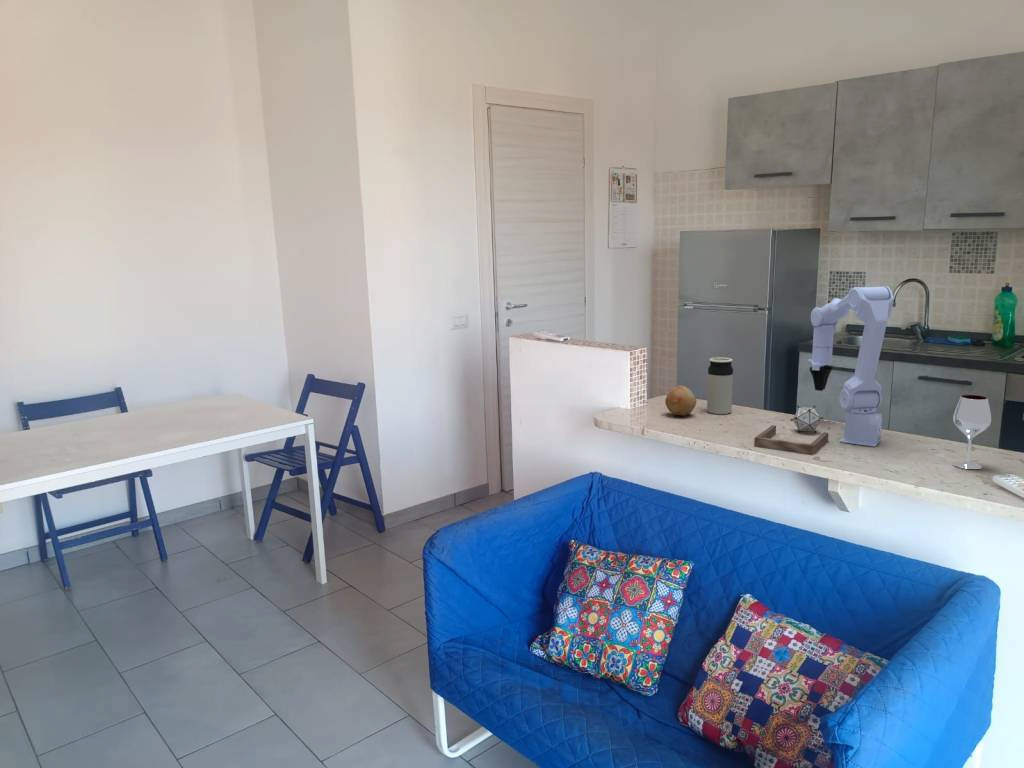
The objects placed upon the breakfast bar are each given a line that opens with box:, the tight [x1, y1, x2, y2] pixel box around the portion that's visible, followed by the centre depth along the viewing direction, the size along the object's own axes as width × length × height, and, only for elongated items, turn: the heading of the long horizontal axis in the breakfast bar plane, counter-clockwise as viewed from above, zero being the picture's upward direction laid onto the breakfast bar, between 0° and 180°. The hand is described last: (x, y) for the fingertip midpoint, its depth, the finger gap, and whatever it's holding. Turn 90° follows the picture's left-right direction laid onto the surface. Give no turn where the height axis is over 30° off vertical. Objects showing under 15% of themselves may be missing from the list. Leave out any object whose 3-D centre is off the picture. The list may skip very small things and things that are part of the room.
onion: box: [664, 385, 697, 417], centre depth 249 cm, size 10×10×10 cm
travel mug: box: [706, 356, 734, 415], centre depth 252 cm, size 8×8×18 cm
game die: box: [790, 404, 824, 434], centre depth 227 cm, size 9×8×10 cm
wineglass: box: [952, 394, 992, 470], centre depth 191 cm, size 8×8×18 cm
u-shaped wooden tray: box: [753, 425, 830, 456], centre depth 215 cm, size 16×16×2 cm
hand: (820, 389), depth 236 cm, fingers closed
